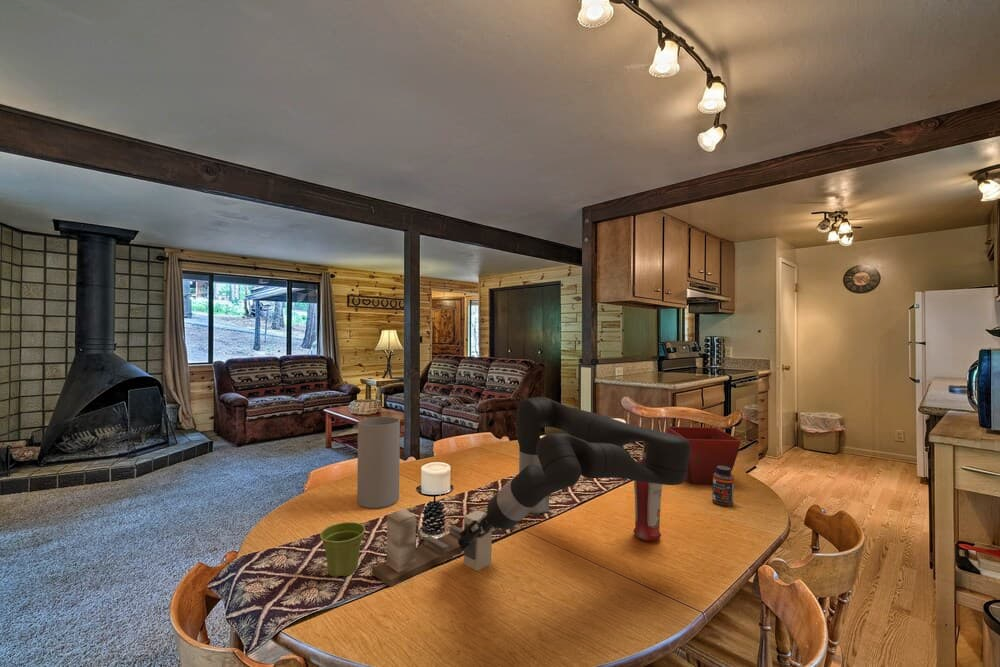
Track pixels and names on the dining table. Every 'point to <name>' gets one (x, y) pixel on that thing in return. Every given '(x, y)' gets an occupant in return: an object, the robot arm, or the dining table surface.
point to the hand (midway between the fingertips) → (474, 538)
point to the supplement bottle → (723, 486)
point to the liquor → (647, 507)
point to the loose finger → (477, 545)
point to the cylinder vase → (378, 462)
